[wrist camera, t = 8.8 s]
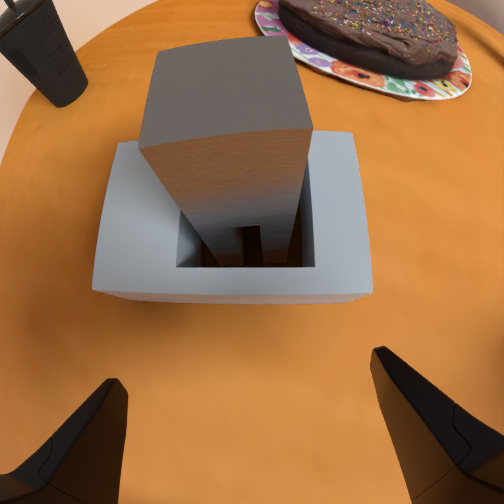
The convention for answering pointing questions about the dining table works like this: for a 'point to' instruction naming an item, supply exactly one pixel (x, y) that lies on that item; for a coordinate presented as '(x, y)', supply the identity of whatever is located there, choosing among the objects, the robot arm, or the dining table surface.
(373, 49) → the chocolate cake
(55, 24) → the drinking cup
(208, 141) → the grey rectangular block
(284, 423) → the dining table surface
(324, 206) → the rectangular frame
